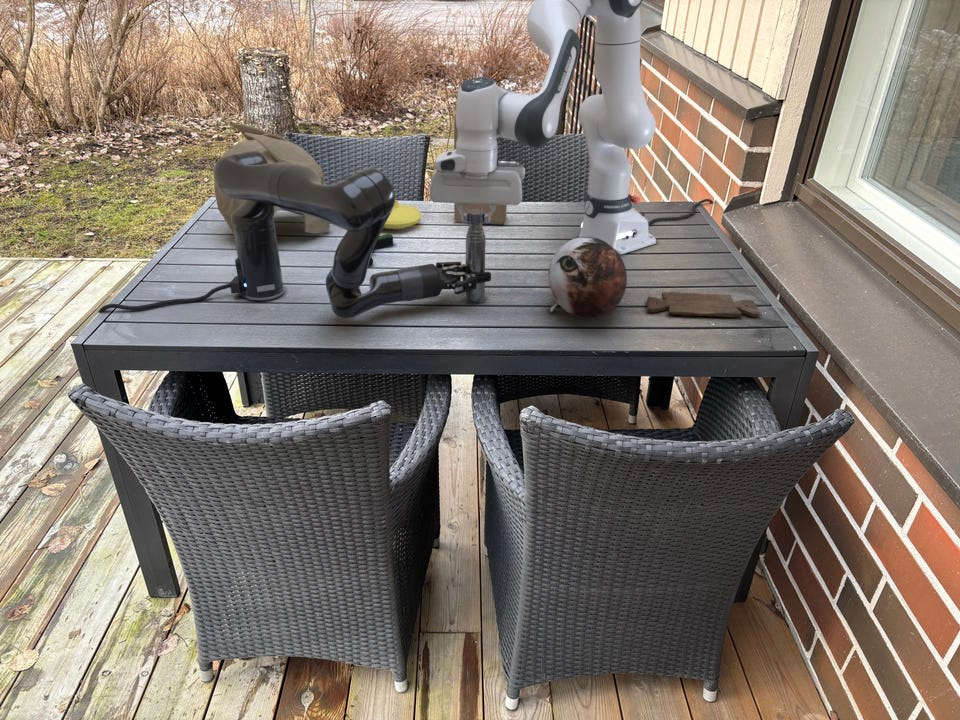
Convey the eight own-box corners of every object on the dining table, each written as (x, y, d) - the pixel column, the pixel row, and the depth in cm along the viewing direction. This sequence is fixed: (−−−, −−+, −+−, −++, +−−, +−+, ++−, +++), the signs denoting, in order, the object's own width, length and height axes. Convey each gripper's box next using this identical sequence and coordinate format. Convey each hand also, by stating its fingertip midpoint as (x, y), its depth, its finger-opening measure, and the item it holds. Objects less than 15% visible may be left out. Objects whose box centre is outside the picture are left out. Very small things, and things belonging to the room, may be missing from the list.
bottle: (465, 303, 168) (465, 217, 157) (466, 295, 171) (466, 210, 161) (484, 304, 168) (485, 217, 157) (484, 295, 171) (486, 211, 161)
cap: (487, 220, 160) (487, 211, 159) (478, 225, 157) (478, 215, 156) (473, 216, 162) (473, 207, 161) (464, 221, 159) (464, 212, 158)
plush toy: (524, 268, 172) (583, 208, 164) (577, 314, 177) (637, 258, 168) (521, 307, 153) (588, 241, 144) (581, 357, 157) (649, 296, 149)
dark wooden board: (642, 297, 172) (648, 316, 163) (643, 291, 171) (649, 310, 162) (751, 300, 171) (762, 319, 162) (752, 293, 170) (764, 313, 161)
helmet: (343, 239, 203) (337, 131, 188) (240, 258, 188) (224, 142, 173) (305, 212, 222) (297, 112, 207) (209, 227, 207) (192, 120, 192)
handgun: (350, 260, 182) (332, 238, 193) (351, 270, 183) (333, 248, 194) (409, 250, 188) (388, 230, 200) (409, 261, 190) (389, 240, 201)
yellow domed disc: (376, 214, 219) (375, 191, 216) (426, 217, 218) (426, 194, 214) (362, 232, 206) (360, 208, 202) (415, 235, 204) (415, 212, 201)
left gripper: (426, 280, 154) (499, 268, 159) (406, 255, 165) (474, 246, 171) (427, 311, 158) (498, 298, 163) (407, 285, 169) (474, 275, 175)
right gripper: (525, 157, 155) (522, 218, 162) (431, 154, 156) (432, 215, 163) (525, 165, 149) (522, 228, 156) (427, 162, 150) (429, 225, 157)
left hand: (485, 272), depth 167 cm, fingers closed on bottle, 4 cm apart
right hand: (475, 221), depth 160 cm, fingers closed on cap, 4 cm apart
